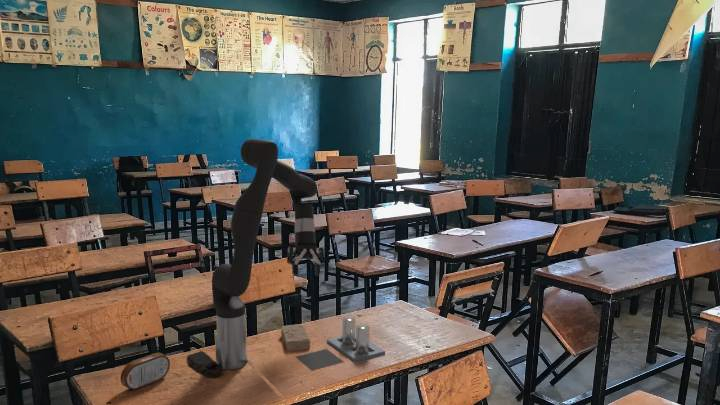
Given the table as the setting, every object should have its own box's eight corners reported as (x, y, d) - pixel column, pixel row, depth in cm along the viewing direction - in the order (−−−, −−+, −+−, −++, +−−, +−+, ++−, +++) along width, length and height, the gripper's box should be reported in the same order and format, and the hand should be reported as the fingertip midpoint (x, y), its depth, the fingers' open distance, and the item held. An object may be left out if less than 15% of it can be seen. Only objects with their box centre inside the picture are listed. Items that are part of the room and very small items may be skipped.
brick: (280, 336, 200) (280, 324, 200) (302, 334, 203) (302, 322, 202) (287, 354, 185) (286, 342, 184) (310, 352, 187) (310, 339, 186)
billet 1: (346, 349, 188) (346, 322, 187) (339, 345, 192) (340, 318, 191) (357, 346, 191) (357, 320, 189) (350, 342, 195) (351, 316, 193)
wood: (179, 358, 181) (179, 350, 181) (200, 353, 186) (200, 344, 185) (204, 384, 164) (204, 374, 163) (227, 377, 168) (227, 368, 168)
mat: (311, 373, 170) (311, 370, 170) (295, 359, 180) (295, 356, 180) (344, 364, 177) (344, 361, 176) (326, 351, 187) (326, 348, 186)
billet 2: (360, 359, 181) (361, 330, 179) (352, 354, 184) (353, 326, 183) (371, 356, 183) (372, 328, 182) (363, 351, 187) (364, 323, 186)
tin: (166, 373, 170) (165, 348, 168) (172, 376, 168) (171, 350, 167) (120, 391, 158) (118, 364, 157) (126, 395, 156) (124, 367, 155)
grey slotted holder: (355, 364, 176) (355, 359, 176) (327, 344, 192) (327, 339, 192) (384, 356, 183) (385, 351, 183) (355, 337, 199) (355, 332, 198)
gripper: (291, 229, 193) (293, 274, 190) (326, 230, 201) (328, 274, 197) (283, 232, 199) (284, 276, 196) (317, 234, 207) (319, 276, 203)
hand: (306, 275), depth 196 cm, fingers open, 8 cm apart
